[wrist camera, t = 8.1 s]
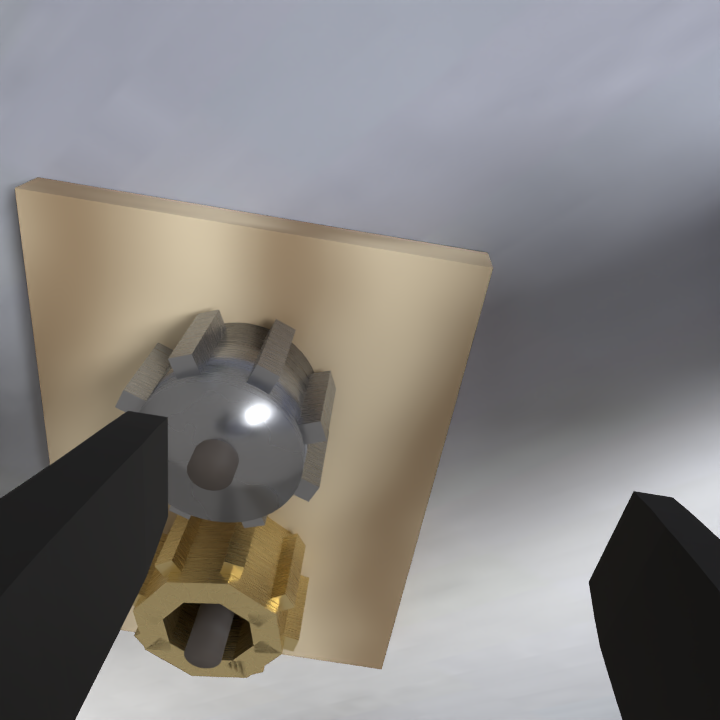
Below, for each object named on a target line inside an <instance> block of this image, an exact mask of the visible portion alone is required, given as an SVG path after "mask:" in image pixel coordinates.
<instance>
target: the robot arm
mask: <svg viewBox="0 0 720 720" xmlns="http://www.w3.org/2000/svg"><path fill="white" fill-rule="evenodd" d="M167 519H168V417H164V416H158V415H151V414H145V413H139V412H133V411H127V412H125V413H124V414H122V415H121V416H119V417H118V418H116V419H115V420H113V421H112V422H111V423H109V424H108V425H106V426H105V427H103V428H102V429H100V430H99V431H98V432H96V433H95V434H93V435H92V436H91V437H89V438H88V439H86V440H85V441H84V442H82V443H81V444H79V445H78V446H76V447H75V448H74V449H72V450H71V451H69V452H68V453H66V454H65V455H64V456H62V457H61V458H59V459H58V460H57V461H55V462H54V463H52V464H51V465H49V466H48V467H46V468H45V469H43V470H42V471H40V472H39V473H37V474H36V475H35V476H33V477H32V478H30V479H29V480H27V481H26V482H24V483H23V484H21V485H20V486H18V487H17V488H15V489H14V490H12V491H11V492H9V493H8V494H6V495H5V496H3V497H2V498H0V720H75V719H76V717H77V715H78V713H79V711H80V709H81V707H82V705H83V703H84V701H85V699H86V697H87V695H88V693H89V691H90V689H91V687H92V685H93V683H94V681H95V679H96V677H97V675H98V673H99V671H100V669H101V667H102V665H103V663H104V661H105V659H106V657H107V655H108V653H109V651H110V649H111V647H112V645H113V643H114V641H115V639H116V637H117V635H118V633H119V631H120V629H121V627H122V625H123V623H124V621H125V619H126V617H127V615H128V613H129V611H130V609H131V607H132V605H133V603H134V601H135V599H136V597H137V595H138V593H139V591H140V589H141V587H142V585H143V583H144V581H145V579H146V577H147V574H148V571H149V569H150V566H151V563H152V561H153V558H154V555H155V553H156V550H157V547H158V544H159V541H160V539H161V536H162V533H163V530H164V527H165V524H166V522H167ZM589 586H590V593H591V599H592V605H593V611H594V618H595V623H596V628H597V633H598V638H599V643H600V648H601V651H602V655H603V658H604V662H605V665H606V668H607V671H608V675H609V678H610V681H611V684H612V688H613V691H614V694H615V698H616V701H617V704H618V707H619V710H620V713H621V717H622V720H720V539H719V538H718V537H717V536H716V535H714V534H713V533H712V532H711V531H710V530H709V529H708V528H707V527H706V526H705V525H704V524H703V523H702V522H700V521H699V520H698V519H697V518H696V517H695V516H694V515H693V514H692V513H690V512H689V511H688V510H687V509H686V508H685V507H683V506H682V505H681V504H680V503H679V502H677V501H676V500H675V499H674V498H672V497H666V496H660V495H654V494H647V493H641V492H635V491H634V492H633V494H632V496H631V498H630V500H629V502H628V504H627V506H626V508H625V510H624V512H623V514H622V516H621V518H620V520H619V522H618V524H617V526H616V528H615V530H614V532H613V534H612V536H611V538H610V540H609V542H608V544H607V546H606V548H605V550H604V552H603V554H602V556H601V558H600V560H599V562H598V564H597V566H596V568H595V570H594V572H593V574H592V576H591V579H590V581H589Z"/></svg>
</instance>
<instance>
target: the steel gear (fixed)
mask: <svg viewBox="0 0 720 720" xmlns="http://www.w3.org/2000/svg"><path fill="white" fill-rule="evenodd" d="M295 331H296V330H295V329H294V328H292V327H290V326H288V325H286V324H285V323H283V322H281V321H279V320H277V319H276V320H275V321H274V323H273V325H272V326H271V328H270V329H267V328H264V327H262V326H258V325H254V324H249V323H224V321H223V318H222V316H221V313H220V311H219V310H214V311H209V312H204V313H199V314H198V315H197V316H196V318H195V319H194V321H193V322H192V324H191V325H190V327H189V328H188V329H187V331H186V332H185V334H184V335H183V337H182V338H181V340H180V341H179V343H178V344H177V346H176V347H175V349H174V350H172V349H170V348H168V347H166V346H164V345H162V344H160V343H157V345H156V346H155V348H154V349H153V350H152V352H151V353H150V354H149V356H148V357H147V358H146V360H145V361H144V363H143V364H142V365H141V367H140V368H139V369H138V371H137V372H136V373H135V375H134V376H133V378H132V379H131V380H130V382H129V383H128V384H127V386H126V387H125V388H124V390H123V392H122V394H121V396H120V398H119V400H118V402H117V404H116V406H115V407H116V408H118V409H120V410H122V411H124V412H127V411H133V412H139V413H145V414H151V415H158V416H164V417H168V504H169V505H171V506H170V508H169V511H171V512H173V513H176V514H178V515H180V516H182V517H184V518H187V519H189V518H190V517H191V516H194V517H198V518H201V519H205V520H210V521H216V522H242V524H243V527H244V528H249V527H256V526H263V525H265V523H266V519H267V515H268V514H271V513H273V512H274V511H276V510H277V509H279V508H281V507H282V506H283V505H284V504H285V503H286V502H288V500H289V499H290V498H291V497H292V496H293V495H295V496H297V497H299V498H301V499H303V500H306V501H308V502H309V501H310V499H311V498H312V497H313V495H314V494H315V493H316V491H317V490H318V489H319V488H320V482H321V476H322V471H323V465H324V459H325V453H326V447H327V442H328V436H329V426H330V420H331V415H332V409H333V403H334V397H335V392H336V386H335V383H334V380H333V377H332V374H331V370H330V371H324V372H319V373H314V371H313V368H312V366H311V365H310V363H309V361H308V359H307V358H306V357H305V356H304V354H303V353H302V352H301V351H300V350H299V349H298V348H297V347H296V346H295V345H294V344H293V343H292V340H293V337H294V334H295ZM205 440H220V441H223V442H226V443H227V444H229V445H230V446H232V447H233V448H234V449H235V451H236V452H237V454H238V457H239V464H238V467H237V469H236V472H235V475H234V478H233V481H232V483H231V484H230V485H229V486H228V487H226V488H225V489H222V490H218V491H211V490H206V489H203V488H200V487H198V486H197V485H195V484H194V483H193V482H192V481H191V480H190V478H189V476H188V474H187V465H188V463H189V460H190V458H191V456H192V454H193V452H194V450H195V448H196V446H197V445H198V444H199V443H201V442H203V441H205Z"/></svg>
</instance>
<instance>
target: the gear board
mask: <svg viewBox="0 0 720 720" xmlns="http://www.w3.org/2000/svg"><path fill="white" fill-rule="evenodd" d="M15 193H16V201H17V209H18V217H19V225H20V233H21V240H22V248H23V256H24V264H25V272H26V280H27V287H28V295H29V303H30V311H31V319H32V327H33V335H34V342H35V350H36V358H37V366H38V374H39V382H40V389H41V397H42V405H43V413H44V421H45V429H46V436H47V444H48V452H49V460H50V465H51V464H52V463H54V462H55V461H57V460H58V459H59V458H61V457H62V456H64V455H65V454H66V453H68V452H69V451H71V450H72V449H74V448H75V447H76V446H78V445H79V444H81V443H82V442H84V441H85V440H86V439H88V438H89V437H91V436H92V435H93V434H95V433H96V432H98V431H99V430H100V429H102V428H103V427H105V426H106V425H108V424H109V423H111V422H112V421H113V420H115V419H116V418H118V417H119V416H121V415H122V414H124V413H125V412H124V411H122V410H120V409H118V408H116V407H115V406H116V404H117V402H118V400H119V398H120V396H121V394H122V392H123V390H124V388H125V387H126V386H127V384H128V383H129V382H130V380H131V379H132V378H133V376H134V375H135V373H136V372H137V371H138V369H139V368H140V367H141V365H142V364H143V363H144V361H145V360H146V358H147V357H148V356H149V354H150V353H151V352H152V350H153V349H154V348H155V346H156V345H157V343H160V344H162V345H164V346H166V347H168V348H170V349H172V350H174V349H175V347H176V346H177V344H178V343H179V341H180V340H181V338H182V337H183V335H184V334H185V332H186V331H187V329H188V328H189V327H190V325H191V324H192V322H193V321H194V319H195V318H196V316H197V315H198V314H199V313H204V312H209V311H214V310H219V311H220V313H221V316H222V318H223V321H224V323H249V324H254V325H258V326H262V327H264V328H267V329H270V328H271V326H272V325H273V323H274V321H275V320H276V319H277V320H279V321H281V322H283V323H285V324H286V325H288V326H290V327H292V328H294V329H295V330H296V331H295V334H294V337H293V340H292V343H293V344H294V345H295V346H296V347H297V348H298V349H299V350H300V351H301V352H302V353H303V354H304V356H305V357H306V358H307V359H308V361H309V363H310V365H311V366H312V368H313V371H314V373H319V372H324V371H330V370H331V374H332V377H333V380H334V383H335V386H336V392H335V397H334V403H333V409H332V415H331V420H330V426H329V436H328V442H327V447H326V453H325V459H324V465H323V471H322V476H321V482H320V488H319V489H318V490H317V491H316V493H315V494H314V495H313V497H312V498H311V499H310V501H309V502H308V501H306V500H303V499H301V498H299V497H297V496H295V495H293V496H292V497H291V498H290V499H289V500H288V502H286V503H285V504H284V505H283V506H282V507H281V508H279V509H277V510H276V511H274V512H273V513H271V514H268V515H267V516H268V517H269V518H271V519H272V520H273V521H275V522H276V523H278V524H279V525H281V526H282V527H283V528H285V529H286V530H288V531H289V532H291V533H292V534H297V533H298V535H299V536H300V538H301V539H302V541H303V542H304V544H305V545H306V547H305V553H304V558H303V564H302V569H301V575H302V576H305V577H309V582H308V588H307V594H306V600H305V607H304V613H303V619H302V625H301V631H300V637H299V641H298V643H297V645H296V647H295V649H294V651H293V652H292V651H289V650H285V649H283V652H282V654H283V655H290V656H297V657H303V658H310V659H316V660H323V661H330V662H336V663H343V664H350V665H356V666H363V667H370V668H376V669H382V666H383V662H384V659H385V655H386V651H387V648H388V644H389V641H390V637H391V633H392V630H393V626H394V623H395V619H396V615H397V612H398V608H399V605H400V601H401V597H402V594H403V590H404V587H405V583H406V579H407V576H408V572H409V569H410V565H411V561H412V558H413V554H414V551H415V547H416V543H417V540H418V536H419V533H420V529H421V525H422V522H423V518H424V515H425V511H426V507H427V504H428V500H429V497H430V493H431V489H432V486H433V482H434V479H435V475H436V471H437V468H438V464H439V461H440V457H441V454H442V450H443V446H444V443H445V439H446V436H447V432H448V428H449V425H450V421H451V418H452V414H453V410H454V407H455V403H456V400H457V396H458V392H459V389H460V385H461V382H462V378H463V374H464V371H465V367H466V364H467V360H468V356H469V353H470V349H471V346H472V342H473V338H474V335H475V331H476V328H477V324H478V320H479V317H480V313H481V310H482V306H483V302H484V299H485V295H486V292H487V288H488V284H489V281H490V277H491V274H492V270H493V266H492V263H491V261H490V258H489V255H488V253H486V252H480V251H474V250H468V249H462V248H456V247H450V246H444V245H438V244H432V243H426V242H420V241H414V240H408V239H402V238H396V237H390V236H384V235H378V234H372V233H366V232H360V231H355V230H349V229H343V228H337V227H331V226H325V225H319V224H313V223H307V222H301V221H295V220H289V219H283V218H277V217H271V216H265V215H259V214H253V213H247V212H241V211H235V210H229V209H223V208H217V207H212V206H206V205H200V204H194V203H188V202H182V201H176V200H170V199H164V198H158V197H152V196H146V195H140V194H134V193H128V192H122V191H116V190H110V189H104V188H98V187H92V186H86V185H80V184H75V183H69V182H63V181H57V180H51V179H45V178H39V177H38V178H35V179H33V180H31V181H29V182H27V183H25V184H22V185H20V186H18V187H16V188H15ZM238 464H239V457H238V454H237V452H236V451H235V449H234V448H233V447H232V446H230V445H229V444H227V443H226V442H223V441H220V440H205V441H203V442H201V443H199V444H198V445H197V446H196V448H195V450H194V452H193V454H192V456H191V458H190V460H189V463H188V465H187V474H188V476H189V478H190V480H191V481H192V482H193V483H194V484H195V485H197V486H198V487H200V488H203V489H206V490H211V491H218V490H222V489H225V488H226V487H228V486H229V485H230V484H231V483H232V481H233V478H234V475H235V472H236V469H237V467H238ZM170 506H171V505H169V504H168V519H167V522H166V524H165V527H164V530H163V533H164V534H167V533H168V532H169V531H170V530H171V528H172V526H173V523H174V521H175V519H176V517H177V514H176V513H173V512H171V511H169V508H170ZM134 607H135V606H132V607H131V609H130V611H129V613H128V615H127V617H126V619H125V621H124V623H123V625H122V627H121V629H120V630H124V631H131V632H136V630H137V628H138V626H137V623H136V620H135V616H134V613H133V609H134ZM234 614H235V613H234V612H233V611H231V610H229V609H228V608H226V607H225V606H223V605H221V604H213V603H201V604H200V607H199V610H198V613H197V616H196V619H195V622H194V625H193V627H192V630H191V633H190V636H189V639H188V642H187V645H186V648H185V651H184V657H185V659H186V660H187V661H188V662H189V663H190V664H192V665H194V666H196V667H199V668H214V667H216V666H218V665H219V664H220V663H221V660H222V657H223V653H224V650H225V646H226V642H227V639H228V635H229V632H230V628H231V624H232V621H233V617H234Z"/></svg>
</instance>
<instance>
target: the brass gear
mask: <svg viewBox="0 0 720 720" xmlns="http://www.w3.org/2000/svg"><path fill="white" fill-rule="evenodd" d="M305 547H306V545H305V544H304V542H303V541H302V539H301V538H300V536H299V535H298V533H297V534H292V533H291V532H289V531H288V530H286V529H285V528H283V527H282V526H281V525H279V524H278V523H276V522H275V521H273V520H272V519H271V518H269V517H268V516H267V519H266V523H265V525H263V526H256V527H249V528H244V527H243V524H242V522H216V521H210V520H205V519H201V518H198V517H194V516H191V517H190V518H189V519H187V518H184V517H182V516H180V515H178V514H177V517H176V519H175V521H174V523H173V526H172V528H171V530H170V531H169V532H168V533H167V534H164V533H162V536H161V539H160V541H159V544H158V547H157V550H156V553H155V555H154V558H153V561H152V563H151V566H150V569H149V571H148V574H147V577H146V579H145V581H144V583H143V585H142V587H141V589H140V591H139V593H138V595H137V597H136V599H135V601H134V603H133V605H132V606H135V607H134V609H133V613H134V616H135V620H136V623H137V626H138V628H137V630H136V632H135V635H134V636H135V637H136V638H137V639H138V640H139V641H140V642H141V644H142V645H143V646H144V647H145V650H147V651H149V652H151V653H152V654H154V655H156V656H158V657H159V658H161V659H163V660H165V661H167V662H168V663H170V664H172V665H174V666H175V667H177V668H179V669H181V670H182V671H184V672H186V673H188V674H189V675H191V676H211V677H240V678H247V677H249V676H250V675H252V674H256V673H261V672H263V670H264V666H265V665H266V664H268V663H269V662H271V661H272V660H274V659H275V658H277V657H278V656H280V655H281V654H282V652H283V649H285V650H289V651H292V652H293V651H294V649H295V647H296V645H297V643H298V641H299V637H300V631H301V625H302V619H303V613H304V607H305V600H306V594H307V588H308V582H309V577H305V576H302V575H301V569H302V564H303V558H304V553H305ZM201 603H213V604H221V605H223V606H225V607H226V608H228V609H229V610H231V611H233V612H234V613H235V614H234V617H233V621H232V624H231V628H230V632H229V635H228V639H227V642H226V646H225V650H224V653H223V657H222V660H221V663H220V664H219V665H218V666H216V667H214V668H199V667H196V666H194V665H192V664H190V663H189V662H188V661H187V660H186V659H185V657H184V651H185V648H186V645H187V642H188V639H189V636H190V633H191V630H192V627H193V625H194V622H195V619H196V616H197V613H198V610H199V607H200V604H201Z"/></svg>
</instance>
